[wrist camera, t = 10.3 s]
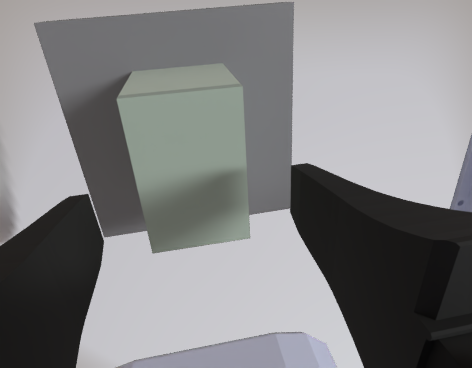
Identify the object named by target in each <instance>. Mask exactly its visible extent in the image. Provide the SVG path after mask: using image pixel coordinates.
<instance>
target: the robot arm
mask: <svg viewBox="0 0 472 368" xmlns="http://www.w3.org/2000/svg"><path fill="white" fill-rule="evenodd" d="M290 212H291V215H292V218H293V220H294V223H295V225H296V228H297V230H298V232H299V234H300V236H301V238H302V240H303V241H304V243H305V245H306V246H307V248H308V250H309V252H310V253H311V255H312V257H313V258H314V260H315V261H316V263H317V265H318V267H319V268H320V270H321V271H322V273H323V275H324V277H325V278H326V280H327V282H328V284H329V286H330V288H331V290H332V292H333V294H334V296H335V299H336V301H337V303H338V305H339V307H340V310H341V312H342V314H343V317H344V319H345V321H346V324H347V326H348V329H349V331H350V333H351V336H352V338H353V340H354V343H355V346H356V348H357V351H358V353H359V356H360V358H361V361H362V363H363V366H364V368H472V135H471V138H470V142H469V145H468V149H467V152H466V155H465V159H464V162H463V166H462V169H461V173H460V176H459V179H458V183H457V186H456V189H455V193H454V197H453V200H452V203H451V206H450V209H445V208H440V207H434V206H430V205H425V204H420V203H415V202H411V201H407V200H403V199H400V198H396V197H392V196H389V195H386V194H382V193H379V192H376V191H373V190H371V189H368V188H366V187H363V186H360V185H358V184H355V183H353V182H350V181H348V180H346V179H343V178H341V177H339V176H337V175H334V174H332V173H330V172H328V171H325V170H323V169H321V168H318V167H316V166H314V165H311V164H308V163H306V164H298V165H291V200H290ZM103 245H104V240H103V237H102V234H101V231H100V228H99V225H98V222H97V219H96V216H95V213H94V210H93V207H92V204H91V201H90V198H89V195H88V194H85V195H78V196H70V197H68V198H66V199H65V200H63V201H62V202H60V203H59V204H57V205H56V206H55V207H53V208H52V209H51V210H49V211H48V212H47V213H45V214H44V215H43V216H41V217H40V218H39V219H37V220H36V221H35V222H34V223H32V224H31V225H30V226H28V227H27V228H26V229H24V230H23V231H21V232H20V233H18V234H17V235H16V236H14V237H13V238H11V239H10V240H8V241H7V242H6V243H4V244H3V245H1V246H0V368H76V363H77V357H78V351H79V345H80V340H81V334H82V330H83V326H84V322H85V319H86V315H87V312H88V309H89V305H90V302H91V298H92V295H93V292H94V288H95V285H96V281H97V278H98V274H99V271H100V267H101V261H102V253H103ZM117 368H337V366H336V364H335V362H334V360H333V357H332V356H331V353H330V351H329V349H328V346H327V344H326V343H324V342H322V341H320V340H318V339H316V338H314V337H312V336H310V335H308V334H306V333H302V332H286V333H285V332H282V333H269V334H265V335H259V336H254V337H249V338H244V339H239V340H234V341H230V342H224V343H219V344H215V345H209V346H205V347H200V348H195V349H189V350H184V351H179V352H174V353H170V354H164V355H159V356H154V357H149V358H144V359H139V360H135V361H132V362H130V363H127V364H124V365H122V366H119V367H117Z"/></svg>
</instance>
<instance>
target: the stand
mask: <svg viewBox="0 0 472 368" xmlns="http://www.w3.org/2000/svg"><path fill="white" fill-rule="evenodd" d="M293 16H294V2H281V3H268V4H255V5H243V6H231V7H218V8H206V9H193V10H181V11H169V12H156V13H144V14H131V15H119V16H107V17H94V18H82V19H69V20H57V21H46V22H39V23H34V25H35V28H36V32H37V35H38V37H39V41H40V43H41V47H42V50H43V53H44V56H45V59H46V62H47V65H48V68H49V71H50V74H51V77H52V80H53V83H54V86H55V89H56V92H57V95H58V98H59V101H60V104H61V107H62V110H63V113H64V116H65V119H66V123H67V126H68V129H69V132H70V135H71V137H72V141H73V144H74V147H75V150H76V153H77V156H78V159H79V162H80V165H81V168H82V171H83V174H84V177H85V180H86V183H87V186H88V189H89V192H90V195H91V198H92V201H93V204H94V207H95V210H96V213H97V216H98V219H99V223H100V225H101V228H102V232H103V235H104V237H110V236H116V235H123V234H128V233H135V232H142V231H147V227H146V223H145V219H144V214H143V210H142V206H141V202H140V197H139V193H138V189H137V185H136V180H135V176H134V172H133V168H132V163H131V159H130V155H129V150H128V146H127V142H126V138H125V133H124V129H123V125H122V121H121V116H120V112H119V108H118V103H117V97H118V95H119V94H120V92H121V90H122V88H123V87H124V85H125V83H126V82H127V80H128V78H129V76H130V75H131V73H132V71H143V70H154V69H165V68H176V67H187V66H198V65H209V64H220V63H223V64H224V66H225V67H226V68H227V69H228V70H229V71H230V72H231V74H232V75H233V76H234V77H235V78H236V79H237V80H238V82H239V83H240V84H241V85H242V86H243V101H244V122H245V143H246V164H247V184H248V205H249V215H251V214H257V213H264V212H270V211H277V210H282V209H289V208H290V200H291V159H292V158H291V157H292V156H291V155H292V90H293V85H292V84H293V20H294V19H293Z"/></svg>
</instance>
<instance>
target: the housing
mask: <svg viewBox="0 0 472 368" xmlns="http://www.w3.org/2000/svg"><path fill="white" fill-rule="evenodd" d="M117 103H118V108H119V112H120V116H121V121H122V125H123V129H124V133H125V138H126V142H127V146H128V150H129V155H130V159H131V163H132V168H133V172H134V176H135V180H136V185H137V189H138V193H139V197H140V202H141V206H142V210H143V214H144V219H145V223H146V227H147V231H148V236H149V240H150V244H151V249H152V253H159V252H165V251H171V250H177V249H183V248H190V247H197V246H203V245H209V244H216V243H223V242H229V241H235V240H242V239H248V238H250V227H249V205H248V184H247V164H246V143H245V122H244V101H243V86H242V85H241V84H240V83H239V82H238V80H237V79H236V78H235V77H234V76H233V75H232V74H231V72H230V71H229V70H228V69H227V68H226V67H225V66H224V64H223V63H220V64H209V65H198V66H187V67H176V68H165V69H154V70H143V71H132V73H131V75H130V76H129V78H128V80H127V82H126V83H125V85H124V87H123V88H122V90H121V92H120V94H119V95H118V97H117Z"/></svg>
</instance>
